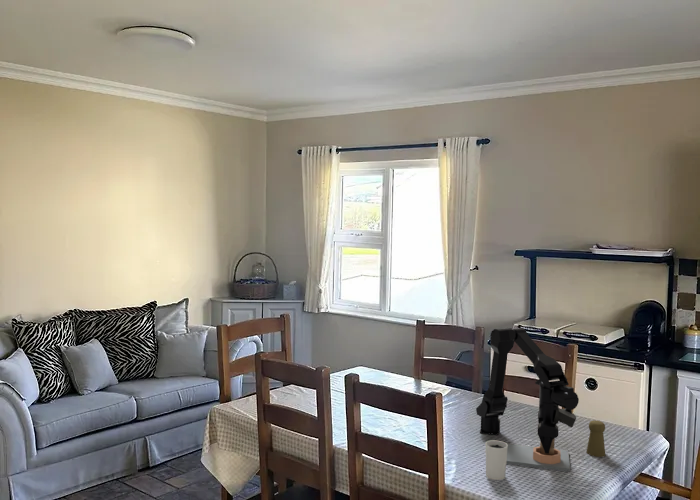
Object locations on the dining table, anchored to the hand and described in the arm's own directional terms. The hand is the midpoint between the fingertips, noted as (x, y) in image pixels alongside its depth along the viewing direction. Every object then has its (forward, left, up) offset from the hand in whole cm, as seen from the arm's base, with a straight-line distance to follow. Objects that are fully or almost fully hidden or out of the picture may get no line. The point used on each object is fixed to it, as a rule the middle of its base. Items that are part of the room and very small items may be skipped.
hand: (546, 448), depth 206 cm
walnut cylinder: (0, 0, -4) cm, 4 cm away
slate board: (-3, +2, -4) cm, 6 cm away
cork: (+16, +13, -5) cm, 21 cm away
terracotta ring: (0, 0, -4) cm, 4 cm away
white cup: (-15, -17, -5) cm, 23 cm away
